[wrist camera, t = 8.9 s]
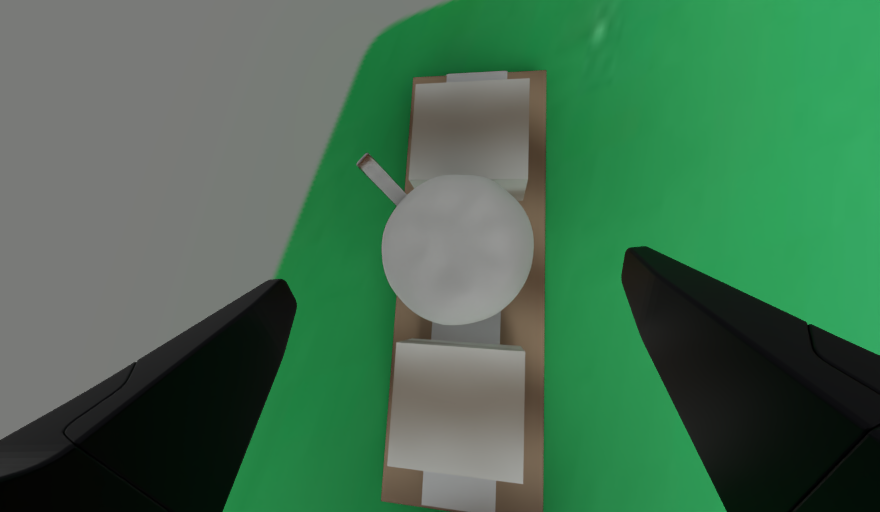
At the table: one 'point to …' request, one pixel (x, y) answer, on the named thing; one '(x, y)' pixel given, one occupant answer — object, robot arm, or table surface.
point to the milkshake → (453, 245)
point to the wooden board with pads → (480, 343)
